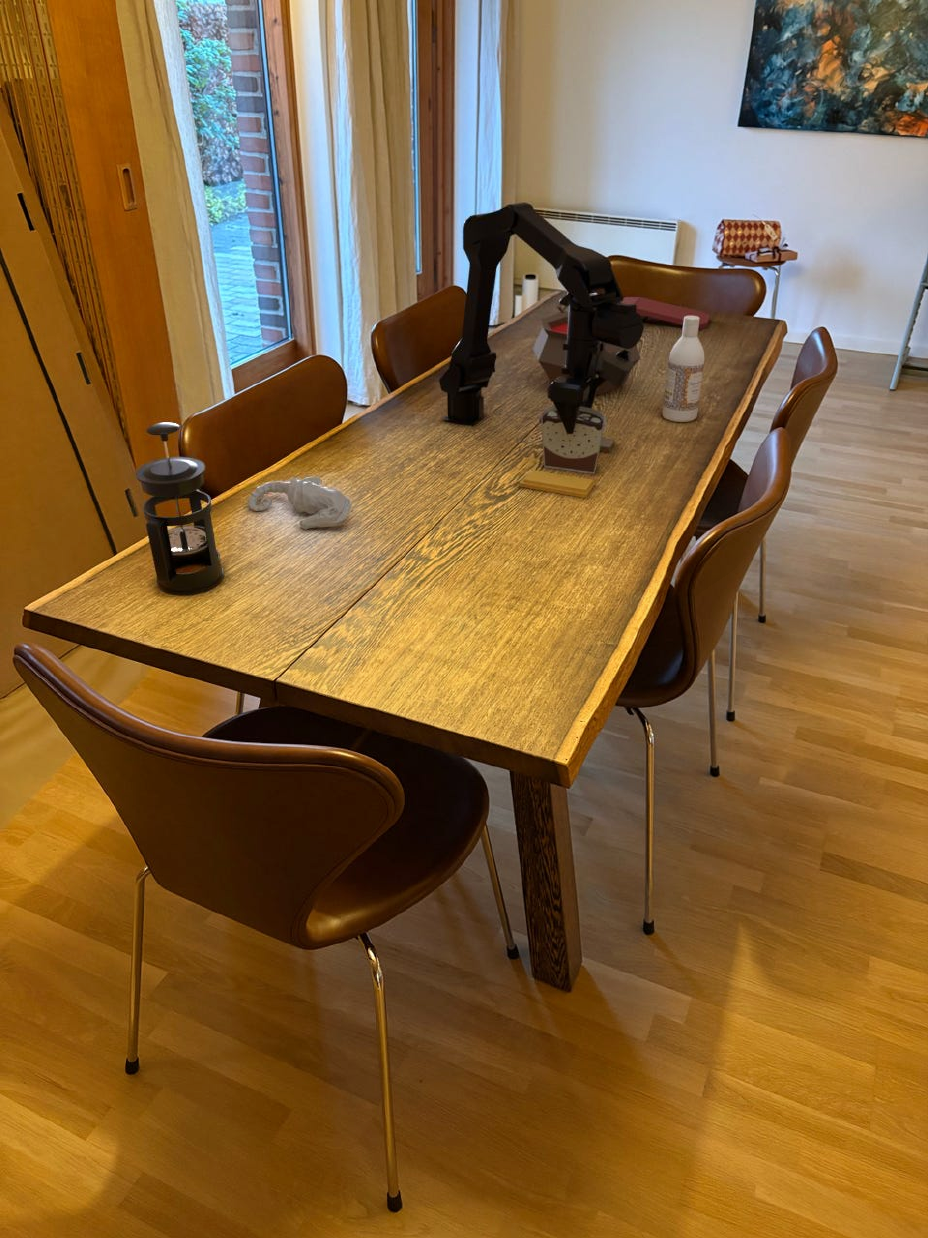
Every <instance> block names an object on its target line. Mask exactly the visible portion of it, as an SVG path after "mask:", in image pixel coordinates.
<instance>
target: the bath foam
mask: <svg viewBox="0 0 928 1238" xmlns="http://www.w3.org/2000/svg"><path fill="white" fill-rule="evenodd" d="M698 327H699V317H697V316H685V317H684V322H683V325H682V331H681V332H682V333H681V336H680V337H679V338H678V339H677V341H676V342H675V343H674V345H673V347H672V348H671V351H670V352H669V356H668V360H667V369H666V377H665V387H664V392H663V393H664V395H663V404H662V410H661V411H662V417H663V418H664V419H666V420H667V421H671V422H675V423H690V422H693V421H695V420H696V419H697V417H698V411H699V404H700V397H701V389H702V383H703V382H702V381H703V375H704V368H705V351H704V347H703V345H702V343H701V341H700V339H699V337H698V333H699V329H698Z"/></svg>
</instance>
